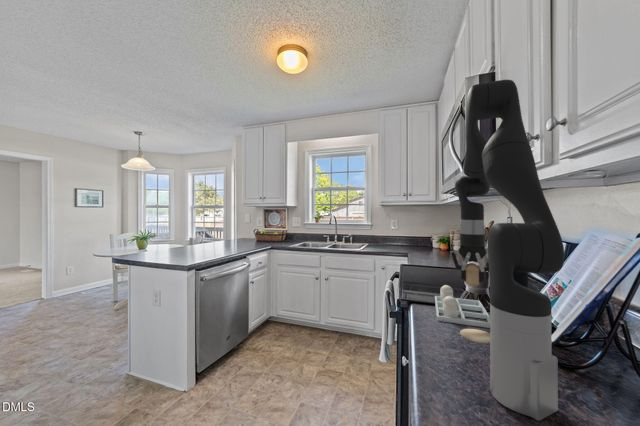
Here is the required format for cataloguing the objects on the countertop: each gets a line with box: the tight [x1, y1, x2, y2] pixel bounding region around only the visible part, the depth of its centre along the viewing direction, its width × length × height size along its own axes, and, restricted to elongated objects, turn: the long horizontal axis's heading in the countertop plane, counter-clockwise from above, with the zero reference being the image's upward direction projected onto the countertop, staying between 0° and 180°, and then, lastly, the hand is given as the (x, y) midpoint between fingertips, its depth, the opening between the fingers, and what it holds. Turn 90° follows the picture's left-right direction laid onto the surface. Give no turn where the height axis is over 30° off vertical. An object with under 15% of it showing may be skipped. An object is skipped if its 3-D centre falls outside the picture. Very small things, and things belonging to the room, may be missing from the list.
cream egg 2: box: [442, 296, 459, 318], centre depth 88 cm, size 4×4×7 cm
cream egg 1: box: [439, 284, 454, 302], centre depth 102 cm, size 4×4×7 cm
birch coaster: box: [459, 328, 490, 344], centre depth 75 cm, size 9×9×1 cm
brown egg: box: [464, 262, 480, 286], centre depth 92 cm, size 4×4×7 cm
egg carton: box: [434, 295, 490, 329], centre depth 93 cm, size 23×16×2 cm
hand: (472, 281), depth 92 cm, fingers closed on brown egg, 4 cm apart
